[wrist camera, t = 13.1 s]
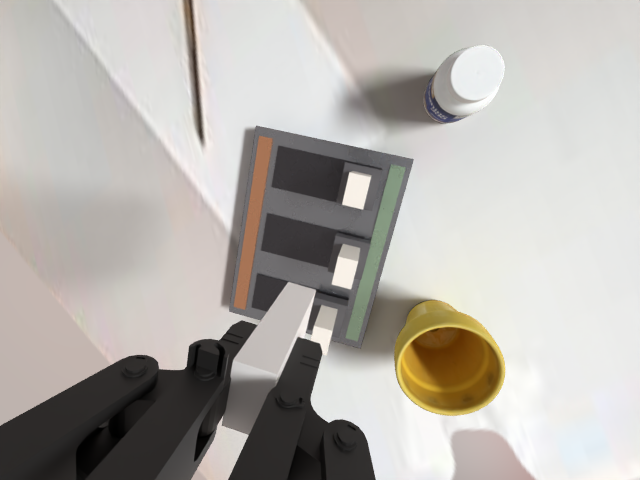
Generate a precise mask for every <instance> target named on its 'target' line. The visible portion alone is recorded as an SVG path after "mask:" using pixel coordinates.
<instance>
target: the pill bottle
mask: <svg viewBox="0 0 640 480" xmlns="http://www.w3.org/2000/svg"><path fill="white" fill-rule="evenodd" d="M504 69H505V68H504V61H503V58H502V56H501V55H500V53H499V52H498V51H497V50H495V49H494V48H492V47H490V46H486V45H477V46H473V47H470V48H464V49H461V50H459V51H456V52H455V53H453V54H451V55H450V56H449V57H448V58H447V59H446V60H445V61H444V62H443V63H442V64H441V65H440V67H439V68H438V70H437V71H436V73H435V74H434V76H433V77H432V78H431V80H430V81H429V83H428V85H427V87H426V89H425V92H424V98H423V101H424V107H425V110H426V112H427V113H428V115H429V116H430V117H431V118H432V119H434V120H435V121H438V122H441V123H453V122H456V121H459V120H461V119H463V118H465V117H468V116H470V115H472V114H474V113H476V112H478V111H480V110H481V109H483V108H484V107H485V106H487V105H488V104H489V103H490V102H491V100H492V99H493V98H494V96H495V95H496V93H497V91H498V88H499V85H500V84H501V81H502V79H503V76H504Z"/></svg>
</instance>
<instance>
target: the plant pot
mask: <svg viewBox="0 0 640 480" xmlns="http://www.w3.org/2000/svg"><path fill="white" fill-rule="evenodd" d="M394 360H395V371H396V377H397V380H398V383H399V385H400V387H401V389H402V390H403V392H404V393H405V395H406V396H407V397H408V398H409V399H410V400H411V401H412V402H414V403H415V404H416V405H418V406H419V407H421V408H423V409H425V410H427V411H429V412H432V413H436V414H440V415H448V416H457V415H464V414H469V413H472V412H475V411H477V410H479V409H481V408H483V407H485V406H486V405H488V404H489V403H490V402H491V401H492V400H493V399H494V398H495V397H496V396H497V394H498V393H499V391H500V390H501V387H502V385H503V382H504V378H505V363H504V358H503V355H502V353H501V351H500V349H499V347H498V345H497V344H496V342H495V341H494V339H493V338H492V336H491V335H490V334H489V332H488V331H487V330H486V329H485V328H484V326H483V325H482V324H481V323H479V322H478V321H477V320H475V319H474V318H472V317H470V316H468V315H466V314H464V313H461V312H458V311H457V310H455V309H454V308H453V307H452V306H450V305H449V304H447V303H444V302H442V301H437V300H429V301H425V302H422V303H419V304H418V305H416V306H415V307H414V308H413V309H412V310H411V311H410V312H409V314H408V316H407V320H406V324H405V326H404V327H403V329H402V330H401V332H400V333H399V335H398V337H397V340H396V344H395V351H394Z"/></svg>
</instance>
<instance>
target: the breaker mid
mask: <svg viewBox="0 0 640 480" xmlns="http://www.w3.org/2000/svg"><path fill="white" fill-rule="evenodd" d="M370 245H371V241H370V240H365V239H361V238H357V237H353V236H349V235H345V234H341V233H337V234H336V236H335V241H334V245H333V249H332V254H331V258H330V262H329V267H328V271H327V272H331V273H334V276H333V280H332V285H336V286H340V287H344V288H347V289H351V288H352V284H353V280H354V279H358V280H361V279H362V275H363V271H364V268H365V264H366V260H367V256H368V252H369V249H370Z"/></svg>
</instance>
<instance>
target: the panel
mask: <svg viewBox="0 0 640 480" xmlns="http://www.w3.org/2000/svg"><path fill="white" fill-rule="evenodd" d="M413 160H414V159H410V158H405V157H400V156H396V155H391V154H386V153H382V152H377V151H372V150H368V149H363V148H358V147H354V146H349V145H344V144H340V143H335V142H330V141H326V140H321V139H316V138H312V137H307V136H302V135H298V134H293V133H288V132H284V131H279V130H274V129H270V128H265V127H260V126H256V130H255V137H254V144H253V151H252V157H251V164H250V171H249V178H248V185H247V192H246V199H245V205H244V212H243V219H242V226H241V233H240V240H239V247H238V254H237V260H236V267H235V274H234V281H233V288H232V295H231V302H230V309H229V312H233V313H236V314H240V315H244V316H247V317H251V318H254V319H258V320H262V319H263V317H264V316H265V314H266V313H267V311H268V310H269V309H270V307H271V306H272V304H273V303H274V302H275V300H276V299H277V297H278V296H279V294H280V293H281V292H282V290H283V289H284V287H285V286H286V285H287V283H288V282H291V283H294V284H298V285H301V286H304V287H308V288H311V289H315V290H316V292H315V296H316V293H317V292H318V293H322V294H325V295H329V296H333V297H337V298H340V299H344V300H348V306H347V310H346V314H345V318H344V322H343V325H342V329H341V333H340V337H339V338H336V337H332V336H331V340H332V341H336V342H339V343H343V344H346V345H350V346H353V347H357V348H361V345H362V341H363V337H364V334H365V330H366V327H367V323H368V320H369V316H370V313H371V309H372V306H373V302H374V298H375V295H376V291H377V288H378V284H379V281H380V277H381V274H382V270H383V267H384V263H385V259H386V256H387V252H388V249H389V245H390V242H391V238H392V235H393V231H394V228H395V224H396V220H397V217H398V213H399V210H400V206H401V203H402V199H403V196H404V192H405V189H406V185H407V181H408V178H409V174H410V171H411V167H412V164H413ZM345 162H347V163H352V164H356V165H361V166H365V167H370V168H375V169H379V170H382V174H381V178H380V182H379V186H378V190H377V194H376V198H375V202H374V205H373V209H372V211H369V210H364V209H358V208H354V207H350V206H346V205H342V204H339V203H336V201H337V196H338V192H339V187H340V183H341V179H342V174H343V170H344V165H345ZM337 233H341V234H345V235H349V236H353V237H357V238H361V239H365V240H370V241H371V245H370V249H369V252H368V256H367V260H366V264H365V268H364V271H363V275H362V279H361V280H358V279H354V280H353V284H352V288H351V289H347V288H344V287H340V286H336V285H332V280H333V276H334V273H331V272H327V271H328V267H329V262H330V258H331V254H332V249H333V245H334V241H335V236H336V234H337ZM314 299H315V297H314ZM313 303H314V301H313ZM312 307H313V305H312ZM311 312H312V309H311ZM310 316H311V313H310ZM309 321H310V317H309ZM309 321H308V325H309ZM308 325H307V329H306V333H307V334H311V335H312V333H313V331H311V330H308Z"/></svg>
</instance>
